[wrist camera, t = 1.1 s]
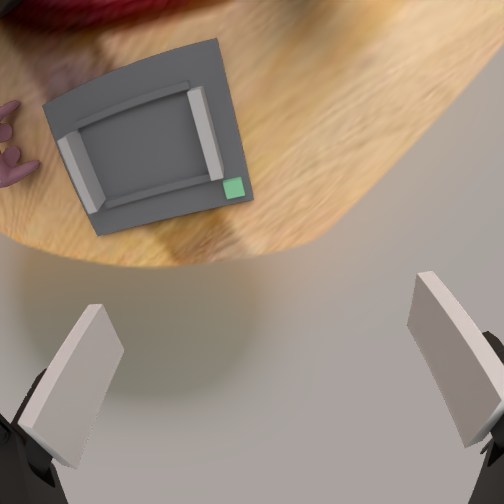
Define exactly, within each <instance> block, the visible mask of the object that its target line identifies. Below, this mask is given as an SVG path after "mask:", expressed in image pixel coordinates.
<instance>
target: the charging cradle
mask: <svg viewBox="0 0 504 504" xmlns="http://www.w3.org/2000/svg"><path fill="white" fill-rule="evenodd" d="M42 106H43V109H44V112H45V115H46V118H47V121H48V123H49V126H50V129H51V132H52V134H53V137H54V140H55V142H56V145H57V148H58V150H59V153H60V155H61V158H62V160H63V163H64V165H65V167H66V170H67V172H68V174H69V177H70V179H71V181H72V184H73V186H74V188H75V190H76V193H77V195H78V197H79V199H80V201H81V203H82V206H83V208H84V210H85V212H86V214H87V216H88V218H89V220H90V222H91V224H92V226H93V228H94V230H95V232H96V234H97V236H101V235H105V234H109V233H112V232H116V231H120V230H124V229H128V228H132V227H136V226H139V225H143V224H147V223H151V222H156V221H160V220H164V219H168V218H172V217H176V216H181V215H185V214H189V213H194V212H198V211H202V210H207V209H211V208H216V207H220V206H225V205H230V204H234V203H239V202H244V201H249V200H254V198H253V192H252V188H251V183H250V179H249V174H248V170H247V165H246V161H245V156H244V152H243V148H242V143H241V139H240V134H239V130H238V126H237V121H236V117H235V113H234V108H233V104H232V100H231V95H230V91H229V87H228V83H227V78H226V74H225V70H224V66H223V61H222V57H221V53H220V49H219V45H218V40H217V38H215V39H211V40H206V41H202V42H198V43H195V44H191V45H187V46H184V47H180V48H177V49H173V50H170V51H167V52H164V53H160V54H157V55H154V56H151V57H148V58H146V59H143V60H140V61H137V62H134V63H132V64H129V65H127V66H124V67H121V68H119V69H116V70H114V71H112V72H109V73H107V74H104V75H102V76H100V77H98V78H95V79H93V80H91V81H89V82H87V83H84V84H82V85H80V86H78V87H76V88H74V89H72V90H70V91H68V92H66V93H64V94H62V95H60V96H59V97H57V98H55V99H53V100H51V101H49V102H48V103H46V104H44V105H42Z"/></svg>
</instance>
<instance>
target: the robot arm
mask: <svg viewBox="0 0 504 504" xmlns="http://www.w3.org/2000/svg"><path fill="white" fill-rule="evenodd" d="M21 1H22V0H0V18H1V17H3V16H5V15H6V14H8V13H9V12H10V11H12V10H13V9H14V8H15V7H16V6H17V5H18V4H19V3H20V2H21ZM407 326H408V328H409V330H410V332H411V334H412V335H413V337H414V339H415V341H416V343H417V345H418V347H419V348H420V351H421V353H422V354H423V356H424V358H425V360H426V362H427V364H428V366H429V368H430V370H431V372H432V374H433V376H434V378H435V380H436V382H437V385H438V387H439V389H440V391H441V393H442V395H443V398H444V400H445V402H446V404H447V406H448V408H449V411H450V413H451V415H452V417H453V420H454V422H455V425H456V427H457V429H458V432H459V434H460V437H461V439H462V441H463V444H464V447H465V448H466V447H469V446H471V445H473V444H476V443H478V442H480V441H482V440H483V439H484V438H485V437H486V436H487V434H488V433H489V432H491V434H492V437H493V438H492V439H491V440H490V441H489V442H488V443H487V444H486V445H485V447H484V448H483V449H482V451H481V453H480V454H483V453H484V452H485V451H486V450H487V449H488V450H487V453H486V456H485V459H484V462H483V466H482V468H481V472H480V474H479V477H478V480H477V483H476V485H475V488H474V490H473V493H472V496H471V498H470V500H469V502H468V504H504V346H503V345H502V343H501V342H500V340H499V339H498V338H497V337H496V336H494V335H493V334H491V333H490V332H489V331H487V332H484V333H481V332H480V330H479V329H478V328H477V326H476V325H475V324H474V322H473V321H472V320H471V318H470V317H469V316H468V314H467V313H466V312H465V310H464V309H463V308H462V307H461V305H460V304H459V303H458V301H457V300H456V299H455V298H454V296H453V295H452V294H451V293H450V292H449V290H448V289H447V288H446V287H445V285H444V284H443V283H442V282H441V281H440V279H439V278H438V277H437V276H436V275H435V273H434V272H433V271H429V272H422V273H417V276H416V283H415V288H414V294H413V300H412V305H411V309H410V314H409V319H408V324H407ZM123 352H124V349H123V346H122V344H121V343H120V340H119V339H118V337H117V334H116V332H115V330H114V328H113V326H112V324H111V322H110V319H109V317H108V315H107V313H106V311H105V308H104V306H103V304H90V305H88V307H87V308H86V310H85V311H84V312H83V314H82V315H81V317H80V318H79V320H78V321H77V323H76V324H75V326H74V327H73V329H72V331H71V332H70V333H69V335H68V337H67V338H66V340H65V341H64V343H63V344H62V346H61V347H60V349H59V351H58V352H57V354H56V355H55V357H54V359H53V360H52V362H51V364H50V365H49V367H48V369H44V371H42V373H40V374H39V375H38V376H37V378H36V379H35V381H34V383H33V384H32V388H31V389H30V390H29V391H28V393H27V396H26V397H25V398H24V400H23V402H22V404H21V406H20V408H19V409H18V411H17V413H16V415H15V417H14V419H13V421H12V422H11V424H10V423H9V422H8V421H7V420H6V419H5V418H4V417H3V416H2V415H1V414H0V504H68V502H67V499H66V497H65V494H64V491H63V489H62V486H61V483H60V480H59V477H58V474H57V471H56V468H55V467H54V465H53V464H52V463H51V461H52V458H54V459H56V460H57V461H58V462H59V463H61V464H62V465H64V466H67V467H71V468H74V469H77V468H78V465H79V462H80V459H81V456H82V454H83V451H84V448H85V445H86V443H87V440H88V437H89V434H90V432H91V429H92V427H93V424H94V421H95V419H96V416H97V414H98V411H99V409H100V406H101V404H102V401H103V399H104V396H105V394H106V391H107V389H108V387H109V384H110V382H111V380H112V377H113V375H114V373H115V370H116V368H117V366H118V363H119V361H120V359H121V357H122V354H123Z"/></svg>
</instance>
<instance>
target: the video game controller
mask: <svg viewBox="0 0 504 504" xmlns="http://www.w3.org/2000/svg"><path fill="white" fill-rule="evenodd" d="M19 104H20V102H19V101H16V100H15V101H11V102H9V103H7V104H4V105H3V106H0V121H1V120H2V119H3V118H4V117H5V116H7V115H8V114H10V113H11V112H12V111H13V110H15V109H16V108H17V107H18V106H19ZM11 136H12V127H11V126H10V125H9V124H1V123H0V143H1V142H5V141H7V140H9V139H10V138H11ZM19 157H20V151H19V149H18V147H16V146H10V147H8V148H7V149H6V150H5V151H4V152H3V155H2V153H1V151H0V188H2V187H7V186H10V185H12V184H14V183H16V182H18V181H20V180H21V179H23V178H24V177H26V176H27V175H29V174H30V173H32V172H33V171H34V170H35V169H37V167H38V166H39V164H40V162H39V161H38V160H36V161H30V162H27V163H24V164H21V165H19V166H17V167H15V164H16V162H17V161H18V159H19Z"/></svg>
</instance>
